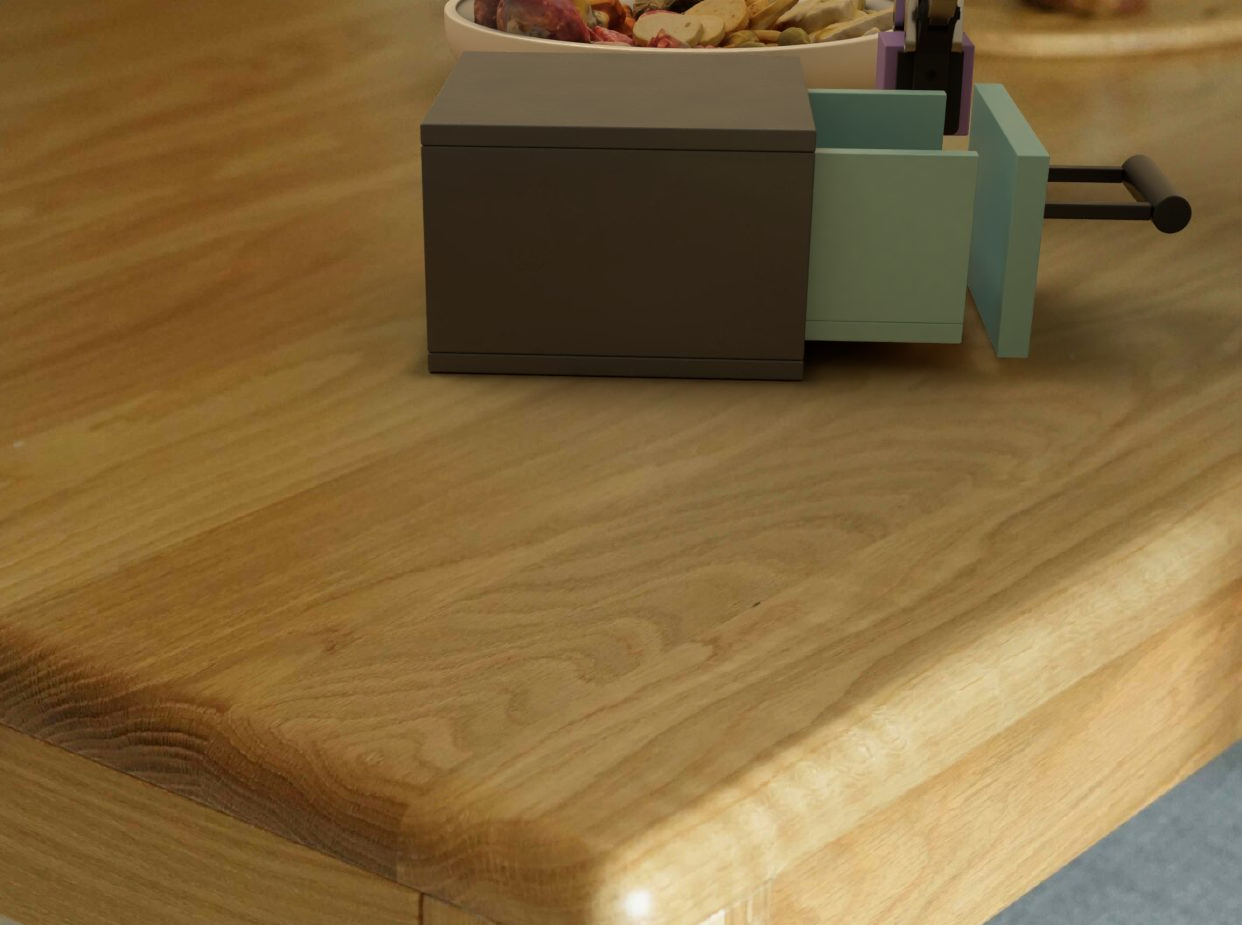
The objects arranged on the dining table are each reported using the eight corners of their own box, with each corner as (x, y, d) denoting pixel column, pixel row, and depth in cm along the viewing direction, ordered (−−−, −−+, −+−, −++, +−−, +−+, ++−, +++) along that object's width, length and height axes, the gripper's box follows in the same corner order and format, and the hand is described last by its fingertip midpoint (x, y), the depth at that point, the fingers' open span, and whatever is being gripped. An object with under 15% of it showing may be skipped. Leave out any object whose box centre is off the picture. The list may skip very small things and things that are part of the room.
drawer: (1126, 264, 89) (1150, 85, 85) (1191, 362, 77) (1222, 158, 73) (681, 255, 90) (686, 78, 86) (678, 350, 78) (683, 149, 74)
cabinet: (788, 273, 90) (800, 55, 86) (802, 380, 77) (817, 130, 73) (467, 267, 91) (462, 50, 87) (427, 372, 78) (419, 123, 74)
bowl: (688, 28, 146) (691, -85, 143) (1016, 93, 126) (1029, -38, 123) (352, 80, 129) (346, -48, 125) (671, 165, 109) (675, 15, 105)
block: (958, 118, 104) (964, 31, 102) (968, 136, 100) (975, 45, 98) (873, 118, 104) (878, 31, 102) (880, 135, 100) (885, 45, 98)
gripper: (1054, -268, 86) (1017, 159, 94) (1002, -275, 101) (974, 93, 109) (879, -266, 86) (857, 158, 94) (853, -274, 102) (836, 93, 110)
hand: (920, 119), depth 102 cm, fingers closed on block, 4 cm apart
